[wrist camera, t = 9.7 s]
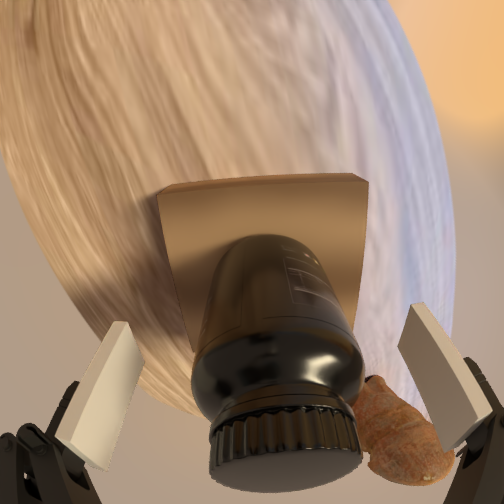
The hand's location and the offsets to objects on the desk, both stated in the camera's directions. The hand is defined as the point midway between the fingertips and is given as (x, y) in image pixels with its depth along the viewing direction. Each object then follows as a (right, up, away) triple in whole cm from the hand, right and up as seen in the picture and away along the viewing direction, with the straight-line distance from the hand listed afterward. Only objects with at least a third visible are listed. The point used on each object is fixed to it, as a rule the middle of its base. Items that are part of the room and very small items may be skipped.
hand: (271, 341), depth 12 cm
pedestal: (0, +3, +8) cm, 9 cm away
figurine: (+12, -9, +14) cm, 21 cm away
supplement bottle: (0, +2, +6) cm, 6 cm away
